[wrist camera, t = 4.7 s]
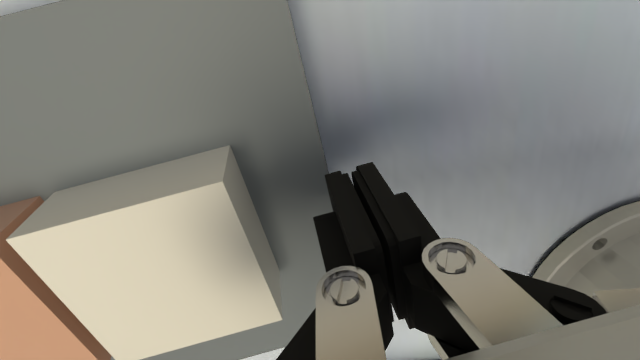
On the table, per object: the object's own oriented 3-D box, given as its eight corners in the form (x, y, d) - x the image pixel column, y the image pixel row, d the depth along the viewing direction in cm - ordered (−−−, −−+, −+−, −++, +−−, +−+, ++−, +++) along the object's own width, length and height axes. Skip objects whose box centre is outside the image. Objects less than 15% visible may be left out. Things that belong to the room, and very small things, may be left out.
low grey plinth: (271, -45, 12) (274, -54, 9) (351, 280, 20) (364, 324, 17) (-199, 76, 11) (-338, 102, 9) (79, 355, 19) (51, 412, 17)
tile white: (229, 145, 11) (222, 181, 9) (279, 270, 14) (282, 319, 12) (54, 192, 11) (5, 239, 9) (141, 308, 14) (120, 364, 12)
